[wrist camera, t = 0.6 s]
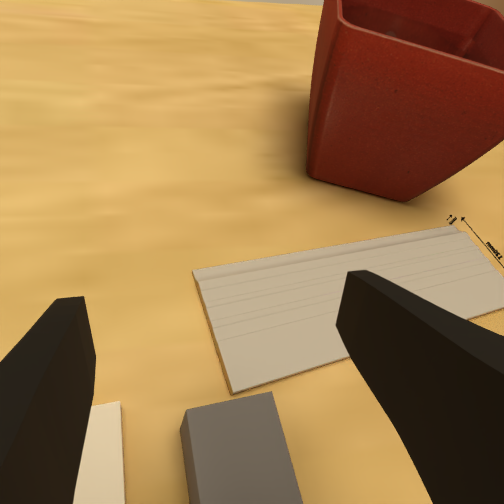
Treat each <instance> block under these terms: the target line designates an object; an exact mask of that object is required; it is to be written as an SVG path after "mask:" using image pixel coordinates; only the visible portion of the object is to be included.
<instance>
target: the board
mask: <svg viewBox="0 0 504 504" xmlns="http://www.w3.org/2000/svg"><path fill="white" fill-rule="evenodd" d="M73 504H126V498H125V476H124V455H123V433H122V411H121V403H120V401H117V402H111V403H106V404H101V405H95V406H91V411H90V416H89V421H88V427H87V432H86V437H85V442H84V447H83V452H82V457H81V462H80V467H79V472H78V477H77V483H76V488H75V494H74V501H73Z"/></svg>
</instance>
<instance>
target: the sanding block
mask: <svg viewBox="0 0 504 504" xmlns="http://www.w3.org/2000/svg"><path fill="white" fill-rule="evenodd" d="M180 434H181V442H182V449H183V456H184V463H185V471H186V478H187V485H188V493H189V500H190V504H303V501H302V498H301V494H300V490H299V487H298V483H297V480H296V476H295V473H294V469H293V465H292V462H291V458H290V455H289V451H288V448H287V444H286V440H285V437H284V433H283V430H282V426H281V422H280V419H279V415H278V412H277V408H276V405H275V401H274V397H273V394H272V391H271V392H266V393H262V394H257V395H252V396H248V397H243V398H238V399H234V400H229V401H224V402H220V403H215V404H210V405H206V406H201V407H197V408H192V409H187V410H186V412H185V415H184V418H183V421H182V424H181V427H180Z"/></svg>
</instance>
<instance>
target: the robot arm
mask: <svg viewBox="0 0 504 504" xmlns="http://www.w3.org/2000/svg"><path fill="white" fill-rule="evenodd" d="M336 328H337V330H338V332H339V335H340V337H341V339H342V342H343V344H344V346H345V348H346V350H347V352H348V354H349V356H350V357H351V359H352V361H353V362H354V364H355V366H356V367H357V369H358V370H359V372H360V374H361V375H362V377H363V378H364V380H365V381H366V383H367V385H368V386H369V388H370V389H371V391H372V392H373V394H374V395H375V397H376V399H377V400H378V402H379V403H380V405H381V406H382V408H383V410H384V411H385V413H386V414H387V416H388V417H389V419H390V420H391V422H392V424H393V426H394V427H395V429H396V431H397V432H398V434H399V436H400V438H401V440H402V442H403V443H404V445H405V447H406V449H407V451H408V453H409V455H410V457H411V459H412V461H413V463H414V465H415V467H416V469H417V471H418V473H419V475H420V477H421V479H422V481H423V484H424V486H425V488H426V490H427V492H428V494H429V496H430V498H431V500H432V502H433V504H504V336H502V335H499V334H497V333H494V332H492V331H490V330H487V329H485V328H483V327H481V326H478V325H476V324H474V323H472V322H470V321H468V320H466V319H463V318H461V317H459V316H457V315H455V314H453V313H451V312H449V311H447V310H445V309H443V308H441V307H439V306H437V305H435V304H433V303H431V302H429V301H427V300H425V299H423V298H422V297H420V296H418V295H416V294H414V293H412V292H410V291H408V290H406V289H405V288H403V287H401V286H399V285H397V284H395V283H393V282H391V281H389V280H387V279H385V278H383V277H381V276H379V275H377V274H375V273H373V272H370V271H368V270H357V271H347V276H346V280H345V285H344V289H343V294H342V298H341V302H340V307H339V311H338V316H337V320H336ZM95 367H96V354H95V349H94V344H93V339H92V334H91V329H90V324H89V319H88V314H87V309H86V304H85V299H84V296H80V297H70V298H59V299H56V300H55V301H54V302H53V303H52V304H51V305H50V307H49V308H48V309H47V310H46V311H45V312H44V313H43V315H42V316H41V317H40V318H39V319H38V320H37V322H36V323H35V324H34V325H33V326H32V327H31V329H30V330H29V331H28V332H27V333H26V334H25V335H24V337H23V338H22V339H21V340H20V341H19V342H18V343H17V344H16V345H15V347H14V348H13V349H12V350H11V351H10V352H9V353H8V354H7V355H6V356H5V357H4V359H3V360H2V361H1V362H0V504H73V501H74V494H75V488H76V483H77V477H78V472H79V467H80V462H81V457H82V452H83V447H84V442H85V437H86V432H87V427H88V421H89V416H90V411H91V406H92V400H93V395H94V382H95Z"/></svg>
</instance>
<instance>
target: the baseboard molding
mask: <svg viewBox="0 0 504 504" xmlns="http://www.w3.org/2000/svg"><path fill="white" fill-rule="evenodd" d="M450 217H451V218H452V215H450ZM450 217H449V218H450ZM449 218H448V219H449ZM455 218H456V217H455ZM455 218H454V219H453V220H452V221H450V222H449V224H452V223H453V222H454V221H455V220H456V219H457V218H456V219H455ZM464 218H465V217H461V221H462V220H464ZM448 219H447V220H448ZM464 221H465V220H464ZM465 223H466V222H465ZM466 224H467V223H466ZM467 225H468V224H467ZM468 226H469V225H468ZM469 227H470V226H469ZM470 228H471V227H470ZM471 230H472V229H471ZM472 231H473V230H472ZM473 232H474V231H473ZM474 233H475V232H474ZM475 234H476V233H475ZM476 236H477V235H476ZM477 237H478V236H477ZM478 238H479V237H478ZM479 239H480V238H479ZM480 240H481V239H480ZM481 242H482V240H481ZM482 243H483V242H482ZM488 243H489V242H487V243H486V244H488ZM483 244H484V243H483ZM484 245H485V244H484ZM488 245H489V246H488ZM488 245H487V246H488V247H490V246H491V244H490V243H489V244H488ZM485 246H486V245H485ZM487 246H486V247H487ZM491 247H492V248H491ZM491 247H490V248H491V250H492V249H493V250H492V251H493V253H494V254H495V255H496V256H497V257H498V254H499V255H500V253H497V252H498V251H497V250H495V249H494V248H493V246H491ZM487 249H488V248H487ZM488 250H489V249H488ZM489 251H490V250H489ZM495 251H496V252H495ZM490 252H491V251H490ZM491 253H492V252H491ZM496 253H497V254H496ZM492 255H493V254H492ZM493 256H494V255H493ZM494 257H495V256H494ZM495 258H496V257H495ZM500 258H502V256H500V257H498V259H499V260H500ZM496 259H497V258H496ZM498 259H497V261H498ZM498 262H499V261H498ZM499 263H500V262H499ZM500 264H501V263H500ZM501 265H502V264H501ZM502 266H503V265H502ZM503 268H504V267H503ZM357 270H368V271H370V272H373V273H375V274H377V275H379V276H381V277H383V278H385V279H387V280H389V281H391V282H393V283H395V284H397V285H399V286H401V287H403V288H405V289H406V290H408V291H410V292H412V293H414V294H416V295H418V296H420V297H422V298H423V299H425V300H427V301H429V302H431V303H433V304H435V305H437V306H439V307H441V308H443V309H445V310H447V311H449V312H451V313H453V314H455V315H457V316H459V317H461V318H463V319H466V320H468V319H471V318H474V317H477V316H481V315H484V314H487V313H490V312H493V311H496V310H499V309H503V308H504V278H503V276H502V275H501V274H500V273H499V272H498V270H496V269H495V268H494V267H493V265H492V264H491V263H490V261H489V259H488V258H487V257H485V256H484V255H483V253H482V252H481V251H480V250H479V247H478V246H477V245H475V244H474V243H473V241H472V240H471V239H470V236H469V235H468V234H467V233H466V232H462V231H459V230H458V229H457V228H456V227H455V226H454V225H451V226H445V227H440V228H434V229H428V230H422V231H417V232H411V233H405V234H399V235H393V236H388V237H382V238H376V239H370V240H364V241H359V242H353V243H347V244H341V245H336V246H330V247H324V248H318V249H312V250H307V251H301V252H295V253H289V254H284V255H278V256H272V257H266V258H260V259H255V260H249V261H243V262H237V263H231V264H226V265H220V266H214V267H208V268H203V269H197V270H192V274H193V277H194V280H195V284H196V287H197V290H198V293H199V296H200V299H201V303H202V306H203V309H204V312H205V315H206V319H207V322H208V325H209V328H210V331H211V334H212V338H213V341H214V344H215V347H216V350H217V353H218V357H219V360H220V363H221V366H222V369H223V373H224V376H225V379H226V382H227V385H228V388H229V392H230V394H231V395H232V394H235V393H238V392H242V391H245V390H248V389H251V388H254V387H257V386H260V385H264V384H267V383H270V382H273V381H276V380H279V379H282V378H286V377H289V376H292V375H295V374H298V373H301V372H304V371H308V370H311V369H314V368H317V367H320V366H323V365H326V364H330V363H333V362H336V361H339V360H342V359H345V358H348V357H350V356H349V354H348V352H347V350H346V348H345V346H344V344H343V342H342V339H341V337H340V335H339V332H338V330H337V328H336V320H337V316H338V311H339V307H340V302H341V298H342V294H343V289H344V285H345V280H346V276H347V271H357Z"/></svg>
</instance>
